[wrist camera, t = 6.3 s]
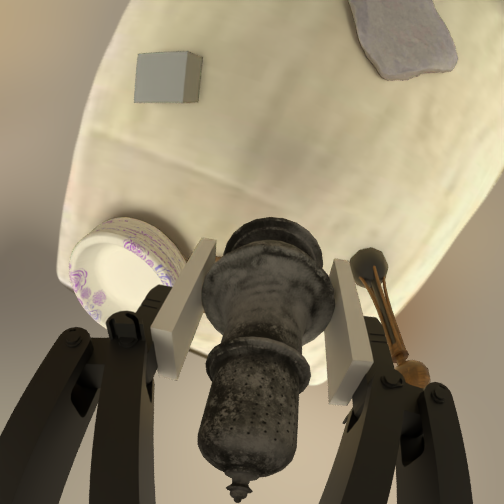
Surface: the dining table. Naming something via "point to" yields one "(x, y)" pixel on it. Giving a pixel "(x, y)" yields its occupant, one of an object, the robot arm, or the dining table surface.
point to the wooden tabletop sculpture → (386, 312)
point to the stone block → (403, 37)
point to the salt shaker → (261, 346)
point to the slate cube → (167, 77)
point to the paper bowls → (122, 266)
